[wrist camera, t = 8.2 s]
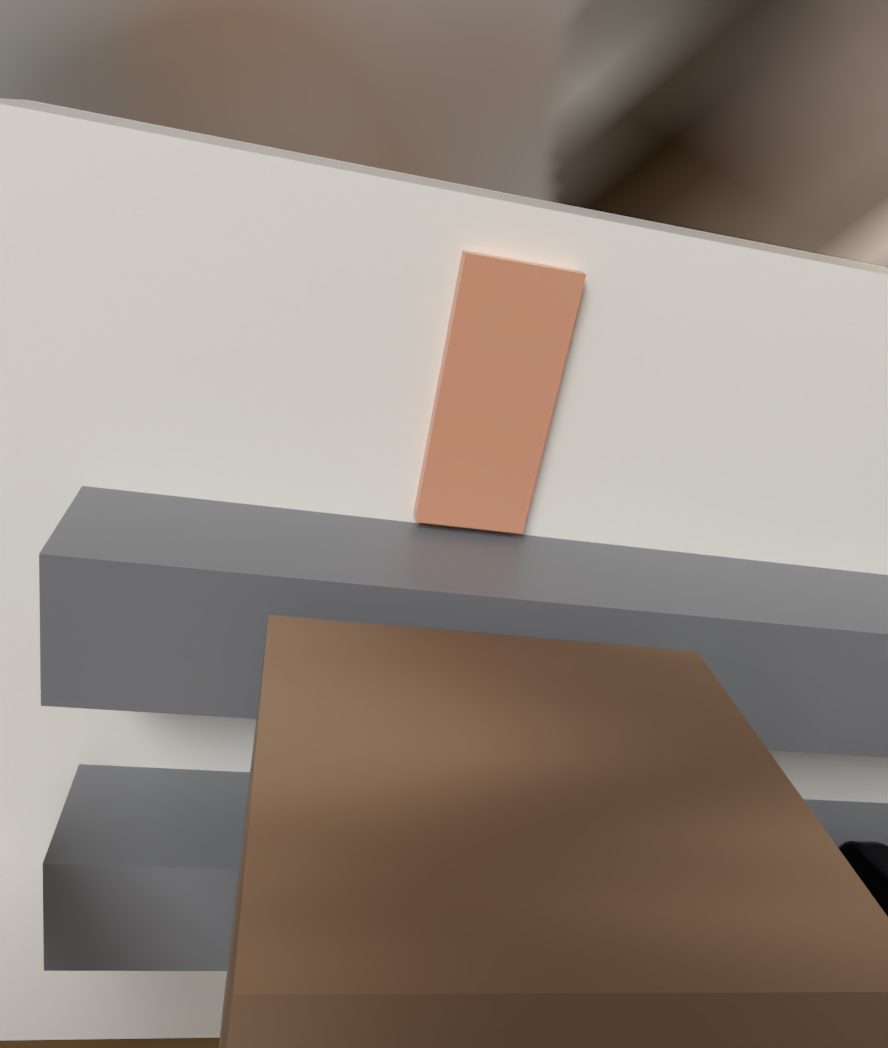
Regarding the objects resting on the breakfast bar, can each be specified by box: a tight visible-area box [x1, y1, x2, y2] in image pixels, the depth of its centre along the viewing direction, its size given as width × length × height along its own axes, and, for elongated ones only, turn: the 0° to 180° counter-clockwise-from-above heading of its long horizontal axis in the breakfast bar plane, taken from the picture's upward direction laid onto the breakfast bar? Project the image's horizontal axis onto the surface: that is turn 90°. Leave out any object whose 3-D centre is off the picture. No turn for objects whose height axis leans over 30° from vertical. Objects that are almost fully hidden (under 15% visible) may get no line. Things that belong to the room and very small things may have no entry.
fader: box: [219, 615, 888, 1048], centre depth 8 cm, size 4×5×5 cm
